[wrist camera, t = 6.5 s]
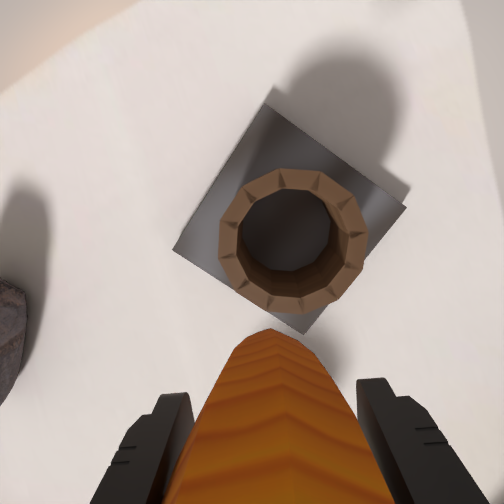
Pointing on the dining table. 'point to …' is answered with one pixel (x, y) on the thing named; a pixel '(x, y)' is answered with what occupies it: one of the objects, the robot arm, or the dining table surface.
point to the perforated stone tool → (11, 335)
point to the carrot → (276, 435)
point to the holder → (287, 222)
